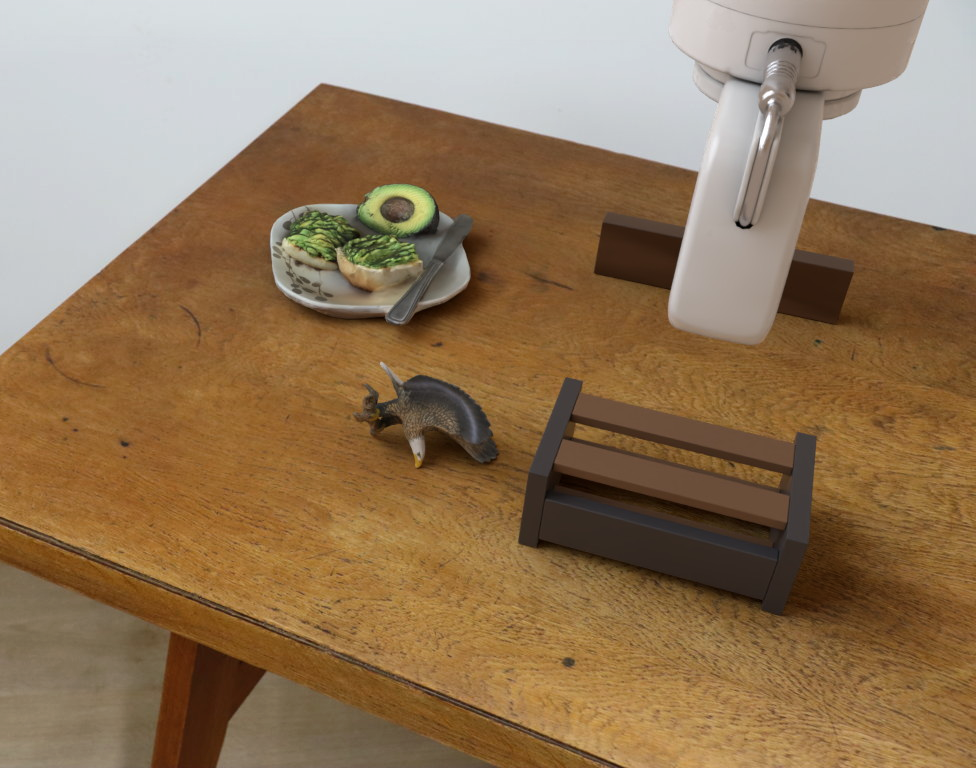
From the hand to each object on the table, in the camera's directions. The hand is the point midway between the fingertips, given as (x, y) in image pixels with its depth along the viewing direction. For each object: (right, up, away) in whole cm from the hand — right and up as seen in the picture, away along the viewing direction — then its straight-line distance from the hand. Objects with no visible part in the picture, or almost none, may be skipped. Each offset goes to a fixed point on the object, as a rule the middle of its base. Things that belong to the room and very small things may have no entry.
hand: (715, 312), depth 49 cm
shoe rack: (+2, -12, +21) cm, 25 cm away
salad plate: (-16, +7, +45) cm, 48 cm away
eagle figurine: (-12, -8, +26) cm, 30 cm away
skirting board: (+12, +5, +44) cm, 45 cm away
